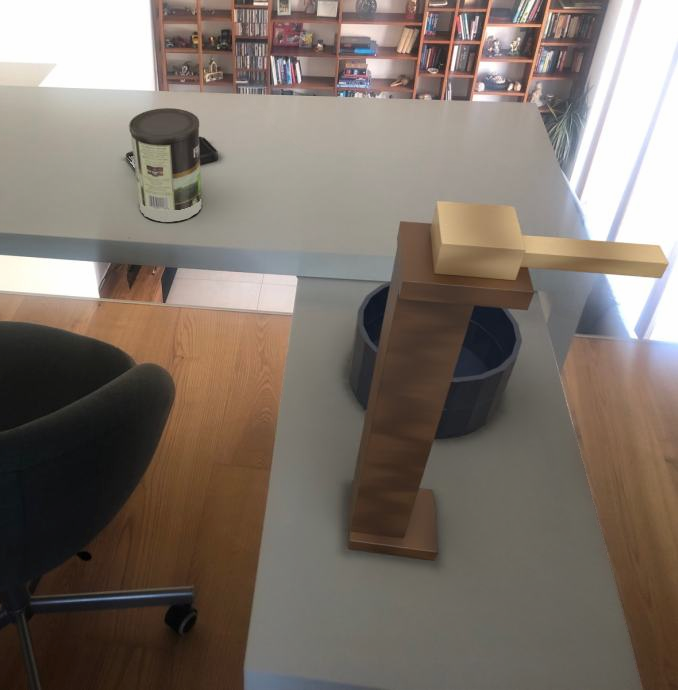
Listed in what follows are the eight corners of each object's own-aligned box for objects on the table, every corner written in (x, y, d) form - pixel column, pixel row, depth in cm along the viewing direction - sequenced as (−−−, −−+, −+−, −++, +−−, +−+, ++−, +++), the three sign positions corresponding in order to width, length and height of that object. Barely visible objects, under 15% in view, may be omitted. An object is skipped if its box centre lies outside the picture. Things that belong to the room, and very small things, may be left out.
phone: (219, 153, 121) (138, 172, 117) (220, 159, 122) (139, 178, 117) (202, 135, 126) (123, 152, 122) (202, 141, 127) (124, 158, 123)
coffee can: (198, 186, 115) (195, 104, 106) (206, 220, 108) (203, 135, 98) (136, 192, 114) (127, 110, 105) (140, 226, 107) (130, 141, 97)
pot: (490, 340, 87) (509, 283, 80) (509, 447, 74) (533, 389, 68) (351, 327, 89) (359, 270, 83) (346, 428, 76) (356, 371, 70)
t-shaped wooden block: (434, 274, 44) (441, 242, 43) (430, 230, 48) (436, 200, 46) (668, 293, 42) (685, 261, 41) (645, 247, 46) (660, 216, 44)
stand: (430, 498, 70) (518, 229, 48) (434, 561, 65) (534, 292, 43) (350, 488, 71) (400, 220, 49) (348, 549, 66) (402, 280, 44)
